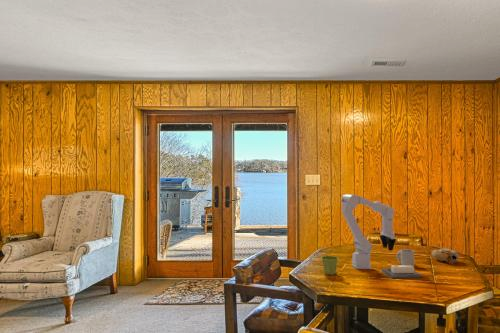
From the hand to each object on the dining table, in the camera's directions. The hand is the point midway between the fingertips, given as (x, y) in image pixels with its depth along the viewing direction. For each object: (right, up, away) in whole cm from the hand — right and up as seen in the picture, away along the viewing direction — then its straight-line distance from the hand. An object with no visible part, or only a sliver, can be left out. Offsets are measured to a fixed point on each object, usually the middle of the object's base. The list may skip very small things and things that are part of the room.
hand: (387, 249), depth 203 cm
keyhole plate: (0, -10, -18) cm, 20 cm away
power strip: (0, -10, -20) cm, 22 cm away
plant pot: (-38, -10, -16) cm, 43 cm away
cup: (+11, -10, +1) cm, 15 cm away
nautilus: (+38, -10, +7) cm, 40 cm away
